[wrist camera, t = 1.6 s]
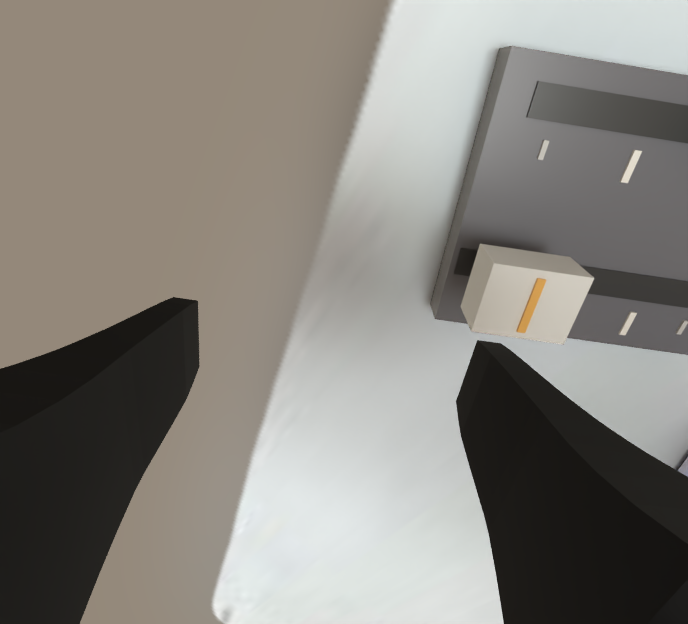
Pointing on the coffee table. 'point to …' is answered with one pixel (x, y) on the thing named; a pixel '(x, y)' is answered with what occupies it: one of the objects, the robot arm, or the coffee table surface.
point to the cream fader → (524, 294)
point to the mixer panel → (583, 191)
